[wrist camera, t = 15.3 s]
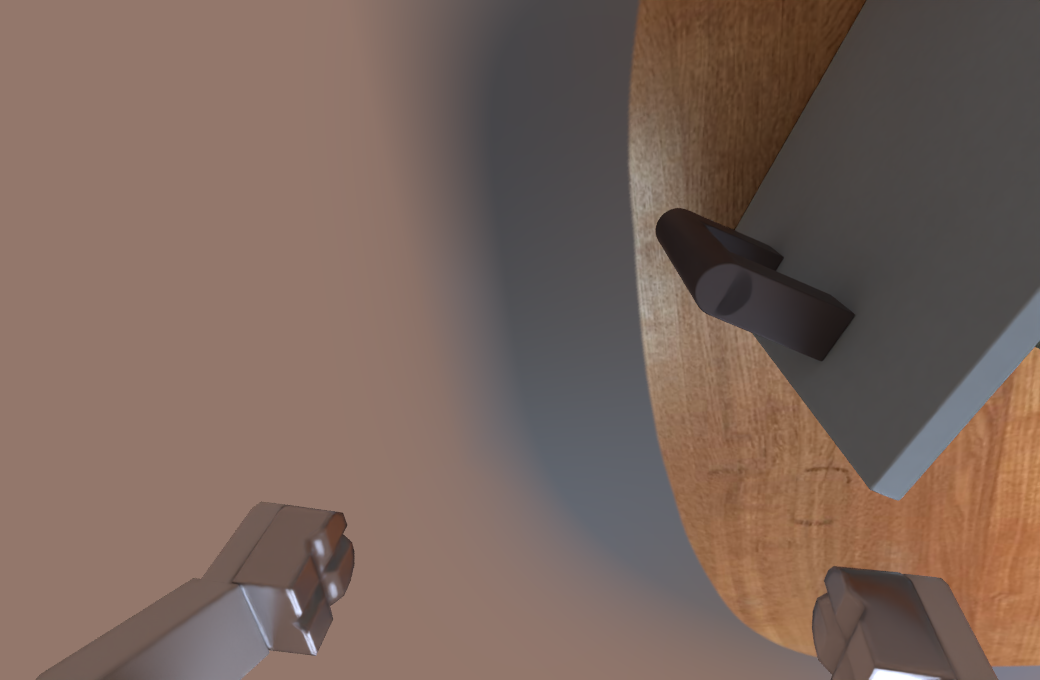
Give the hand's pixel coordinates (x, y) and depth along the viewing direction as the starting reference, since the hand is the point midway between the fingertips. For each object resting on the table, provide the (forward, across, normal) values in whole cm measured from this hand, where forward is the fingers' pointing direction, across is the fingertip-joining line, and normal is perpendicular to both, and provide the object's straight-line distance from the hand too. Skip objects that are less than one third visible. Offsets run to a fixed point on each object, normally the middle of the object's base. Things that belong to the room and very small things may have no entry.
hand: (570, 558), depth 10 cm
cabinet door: (+27, -7, -2) cm, 28 cm away
